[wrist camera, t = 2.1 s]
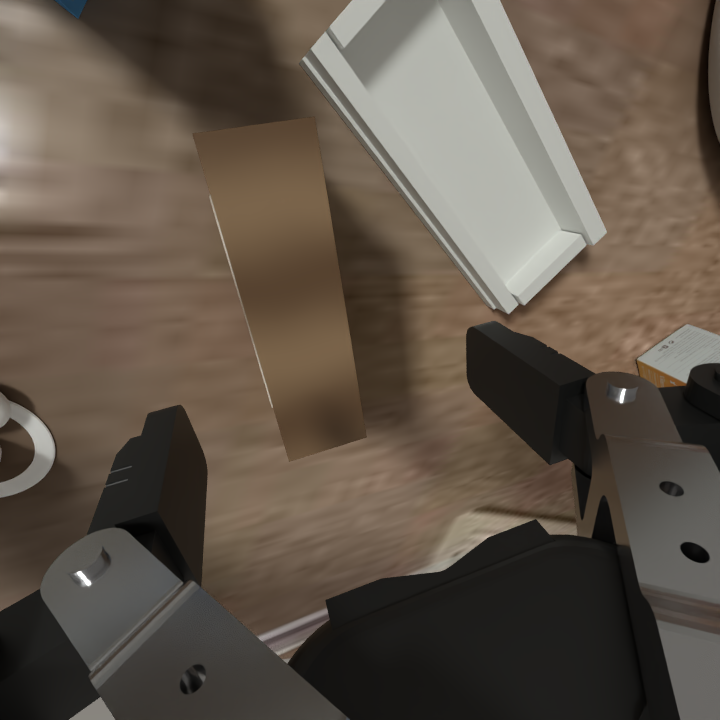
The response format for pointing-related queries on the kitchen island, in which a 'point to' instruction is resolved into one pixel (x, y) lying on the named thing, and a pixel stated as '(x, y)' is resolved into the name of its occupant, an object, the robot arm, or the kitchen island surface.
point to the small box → (679, 356)
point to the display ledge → (461, 136)
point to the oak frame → (287, 276)
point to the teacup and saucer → (42, 440)
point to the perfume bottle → (73, 6)
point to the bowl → (715, 69)
